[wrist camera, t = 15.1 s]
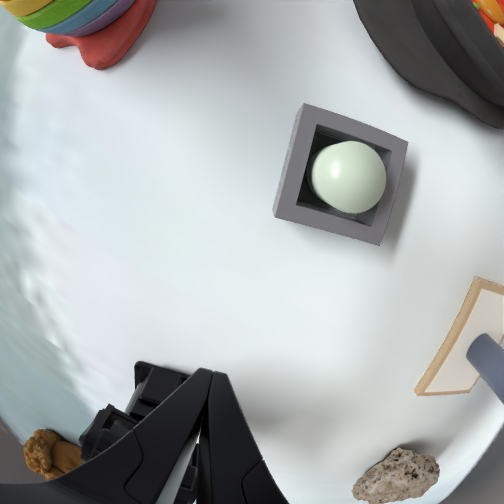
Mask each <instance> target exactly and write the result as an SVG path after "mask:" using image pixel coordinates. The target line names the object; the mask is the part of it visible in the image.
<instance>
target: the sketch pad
mask: <svg viewBox="0 0 504 504" xmlns="http://www.w3.org/2000/svg"><path fill="white" fill-rule="evenodd" d="M484 333H487V334H488V335H489V336H490V337H491V338H492V339H493V340H494V341H495V342H497V343H498V344H500V343H501V341H502V339H503V337H504V287H503V286H501V285H498V284H495V283H492V282H490V281H487V280H484V279H481V278H478V277H475V278H474V280H473V283H472V285H471V288H470V290H469V292H468V295H467V297H466V299H465V301H464V304H463V306H462V308H461V310H460V312H459V314H458V316H457V318H456V320H455V322H454V324H453V326H452V328H451V330H450V332H449V334H448V336H447V338H446V339H445V341H444V343H443V345H442V347H441V348H440V350H439V352H438V353H437V355H436V357H435V359H434V360H433V362H432V363H431V365H430V367H429V368H428V370H427V371H426V373H425V375H424V376H423V378H422V379H421V381H420V382H419V384H418V385H417V387H416V388H415V390H414V391H415V393H416V395H417V396H429V395H447V394H459V393H469V392H470V390H471V389H472V387H473V386H474V385H475V383H476V382H477V380H478V379H479V377H480V376H481V375H480V374H479V373H478V372H477V370H476V369H475V368H474V367H473V366H472V365H471V363H470V362H469V361H468V360H467V358H466V354H467V351H468V349H469V347H470V345H471V344H472V342H473V341H474V340H475V339H476V338H477V337H478V336H480V335H481V334H484Z"/></svg>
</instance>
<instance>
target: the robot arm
mask: <svg viewBox="0 0 504 504" xmlns="http://www.w3.org/2000/svg"><path fill="white" fill-rule="evenodd" d="M139 366H140V367H139ZM134 370H135V392H134V394H133V396H132V398H131V400H130V402H129V404H128V406H127V408H126V410H125V412H122V411H120V410H118V409H116V408H114V407H115V406H113V405H111V404H108V406H107V407H106V409H104V408H103V410H99V412H98V413H97V415H96V417H95V419H94V420H93V422H92V423H91V425H90V426H89V427H88V428H87V429H86V430H85V431H84V432H83V433H82V434H81V436H80V438H79V442H80V445H81V447H82V448H81V456H80V461H82V462H84V463H83V464H82V465H80V466H78V467H76V468H75V469H73V470H71V471H69V472H67V473H65V474H64V475H61V476H59V477H57V478H55V479H52V480H48V481H44V482H35V483H0V504H193V503H194V501H195V500H196V504H289V502H288V501H287V500H286V498H285V497H284V495H283V494H282V492H281V491H280V489H279V488H278V486H277V484H276V483H275V481H274V479H273V477H272V475H271V473H270V471H269V469H268V467H267V465H266V463H265V461H264V460H262V459H263V457H262V455H261V453H260V451H259V448H258V446H257V444H256V442H255V440H254V437H253V435H252V433H251V431H250V428H249V426H248V424H247V421H246V419H245V417H244V414H243V412H242V410H241V407H240V405H239V402H238V400H237V398H236V395H235V393H234V390H233V388H232V385H231V383H230V380H229V378H228V375H227V374H226V373H222V372H218V371H214V372H213V371H212V370H209V369H205V368H199V369H197V370H196V371H195V372H194V373H193V374H192V375H191V376H187V375H183V374H180V373H176V372H173V371H169V370H166V369H162V368H159V367H156V366H152V365H149V364H146V363H143V362H139V361H138V362H136V364H135V366H134ZM211 378H212V379H211ZM204 410H205V411H204ZM202 419H203V420H202ZM201 424H202V425H201ZM200 428H201V430H200ZM199 432H200V436H199ZM198 436H199V444H198V443H197V444H196V442H197V439H198Z"/></svg>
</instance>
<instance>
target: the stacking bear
mask: <svg viewBox="0 0 504 504" xmlns="http://www.w3.org/2000/svg"><path fill="white" fill-rule="evenodd" d="M0 2H1V4H2V5H3V6H4V7H5V8H6V9H7V10H8V11H9V12H10V13H11V14H13V15H14V16H15V17H16V19H18V20H19V21H20V22H21V23H23V24H24V25H26V26H27V27H29V28H32V29H35V30H37V31H41V32H45V33H46V40H47V42H48V43H50V44H51V45H52V46H53V47H55V48H61V47H64V46H67V45H76V46H78V48H79V50H80V53H81V56H82V59H83V60H84V62H85V63H86V65H88V66H89V67H94V68H96V69H97V70H101V69H103V68H105V67H107V66H111V65H113V64H115V63H116V62H117V61H119V60H120V59H121V58H122V57H123V55H124V54H125V53H126V52H127V51H128V49H129V48H130V47H131V46H132V44H133V43H134V42H135V40H136V39H137V37H138V36H139V35H140V33H141V32H142V30H143V28H144V27H145V25H146V23H147V22H148V20H149V18H150V16H151V13H152V11H153V9H154V6H155V3H156V0H0Z"/></svg>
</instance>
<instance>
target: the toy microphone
mask: <svg viewBox="0 0 504 504" xmlns="http://www.w3.org/2000/svg"><path fill="white" fill-rule="evenodd" d="M466 358H467V360H468V361H469V362H470V363H471V365H472V366H473V367H474V368H475V369H476V370H477V372H478V373H479V374H480V375H481V376H482V378H483V379H484V380H485V381H486V383H487V384H488V385H489V386H490V387H491V389H492V390H493V391H494V393H495V394H496V395H497V396H498V398H499V399H500V400H501V402H502V403H503V404H504V349H503V348H502V347H501V346H500V345H499V344H498V343H497V342H495V341H494V340H493V339H492V338H491V337H490V336H489V335H488V334H487V333H484V334H481V335H480V336H478V337H477V338H476V339H475V340H474V341H473V342H472V344H471V345H470V347H469V349H468V351H467V354H466Z"/></svg>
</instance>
